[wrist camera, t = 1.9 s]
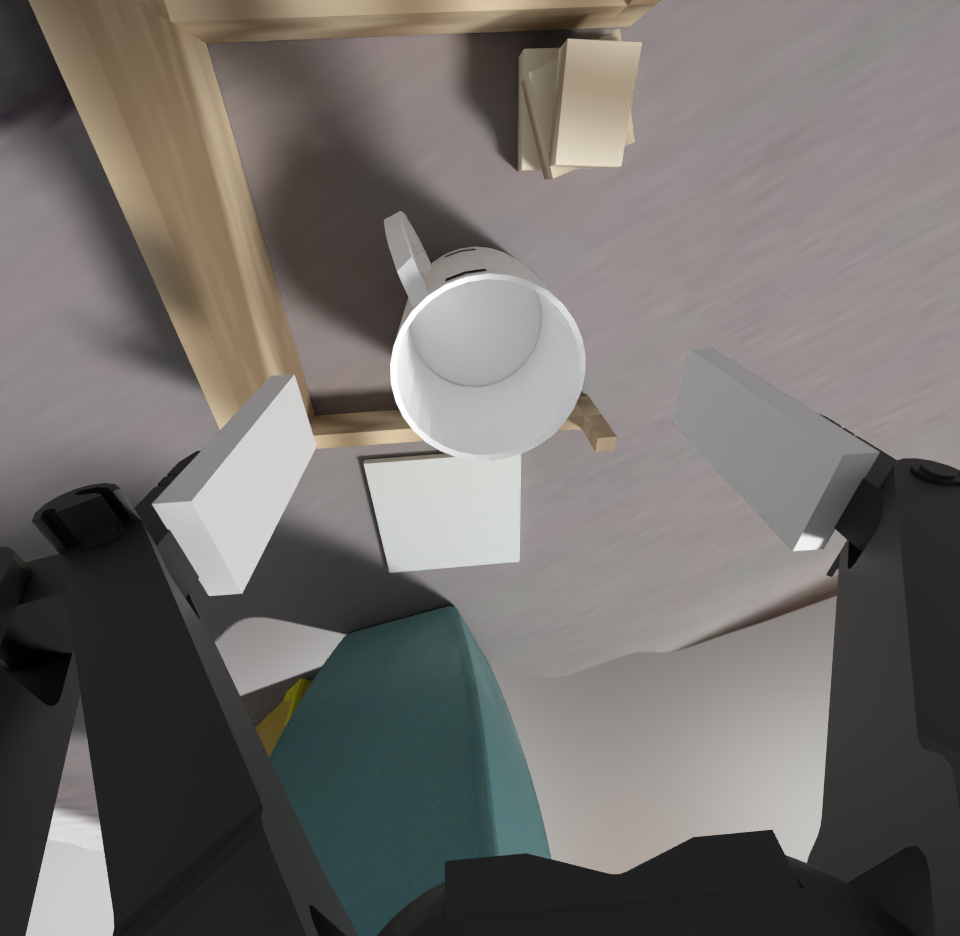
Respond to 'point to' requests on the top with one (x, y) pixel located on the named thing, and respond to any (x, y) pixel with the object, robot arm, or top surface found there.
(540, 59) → the offcut
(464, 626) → the flower pot
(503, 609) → the top surface
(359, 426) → the frame
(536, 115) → the offcut
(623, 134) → the offcut
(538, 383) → the mug
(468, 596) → the top surface
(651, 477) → the top surface
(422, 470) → the felt mat
